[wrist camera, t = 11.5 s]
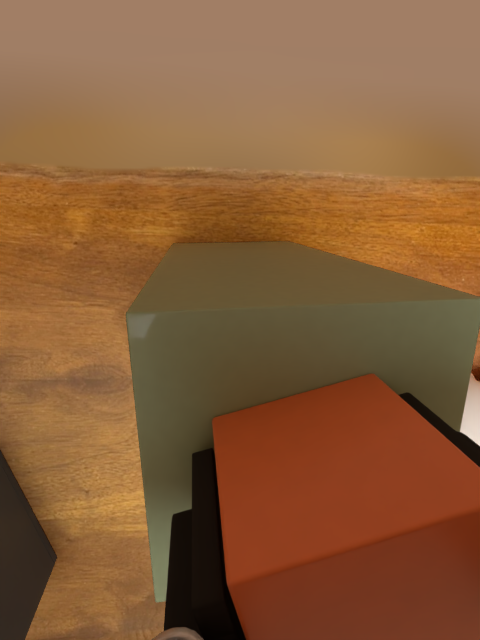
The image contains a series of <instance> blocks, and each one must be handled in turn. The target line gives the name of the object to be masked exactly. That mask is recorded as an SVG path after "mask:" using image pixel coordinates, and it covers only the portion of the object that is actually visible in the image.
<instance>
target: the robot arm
mask: <svg viewBox="0 0 480 640" xmlns="http://www.w3.org/2000/svg"><path fill="white" fill-rule="evenodd" d="M399 396H400V397H401V398H402V399H403V400H404V401H405V402H407V403H408V404H409V405H410V406H411V407H412V408H413V409H414V410H416V411H417V412H418V413H419V414H420V415H421V416H422V417H423V418H425V419H426V420H427V421H428V422H429V423H430V424H431V425H432V426H434V427H435V428H436V429H437V430H438V431H439V432H440V433H441V434H443V435H444V436H445V437H446V438H447V439H448V440H449V441H451V442H452V443H453V444H454V445H455V446H456V447H457V448H458V449H460V450H461V451H462V452H463V453H464V454H465V455H466V456H467V457H469V458H470V459H471V460H472V461H473V462H474V463H475V464H476V465H478V466H479V467H480V446H479V445H478V444H476V443H475V442H474V441H473V440H471V439H470V438H469V437H468V436H466V435H465V434H463V433H462V432H458V431H455V430H454V429H453V428H452V427H450V426H449V425H448V424H447V423H446V422H444V421H443V420H442V419H441V418H440V417H438V416H437V415H436V414H435V413H434V412H432V411H431V410H430V409H429V408H428V407H426V406H425V405H424V404H423V403H421V402H420V401H419V400H418V399H417V398H415V397H414V396H413V395H412V394H410V393H408V392H406V393H403V394H399ZM152 640H246V638H245V635H244V632H243V629H242V626H241V623H240V621H239V618H238V615H237V612H236V609H235V606H234V603H233V600H232V597H231V595H230V592H229V589H228V586H227V582H226V571H225V560H224V549H223V538H222V527H221V516H220V505H219V494H218V483H217V472H216V461H215V453H214V450H213V448H209V449H206V450H202V451H199V452H195V453H193V454H192V509H189V510H186V511H182V512H179V513H175V514H173V516H172V522H171V535H170V550H169V564H168V578H167V593H166V607H165V621H164V631H163V632H161V633H160V634H159V635H157V636H156V637H155V638H153V639H152Z"/></svg>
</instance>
